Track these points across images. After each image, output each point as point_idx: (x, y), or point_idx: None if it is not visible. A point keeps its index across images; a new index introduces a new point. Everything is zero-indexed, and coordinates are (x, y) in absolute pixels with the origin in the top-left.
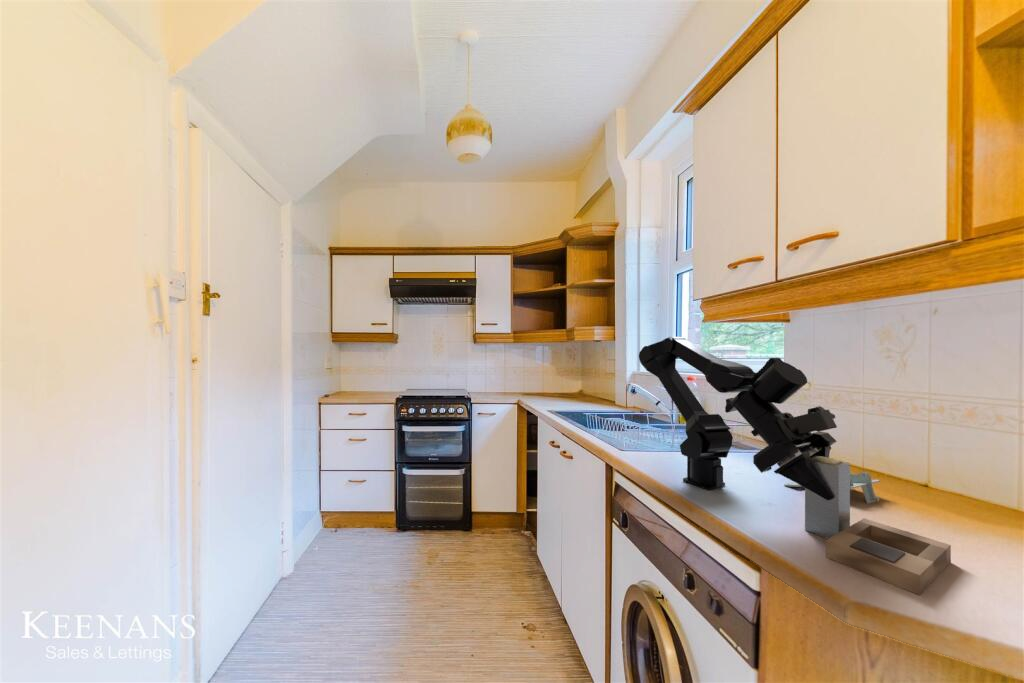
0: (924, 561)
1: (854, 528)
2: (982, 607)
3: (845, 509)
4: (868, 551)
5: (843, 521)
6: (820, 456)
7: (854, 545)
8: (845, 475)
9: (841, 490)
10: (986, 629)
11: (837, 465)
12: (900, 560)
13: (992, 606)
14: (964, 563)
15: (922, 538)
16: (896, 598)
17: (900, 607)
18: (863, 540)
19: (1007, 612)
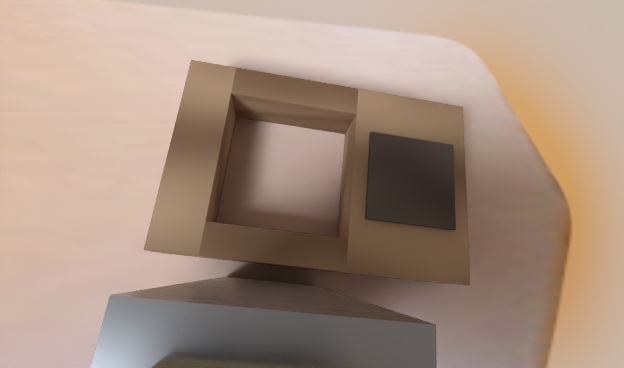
0: (376, 101)
1: (292, 250)
2: (385, 59)
3: (260, 284)
4: (450, 191)
5: (279, 284)
6: None
7: (442, 221)
8: (254, 297)
9: (316, 296)
10: (459, 60)
11: (366, 355)
12: (420, 137)
13: (366, 48)
14: (179, 68)
15: (200, 108)
16: (488, 153)
17: (514, 146)
18: (383, 211)
19: (368, 35)
